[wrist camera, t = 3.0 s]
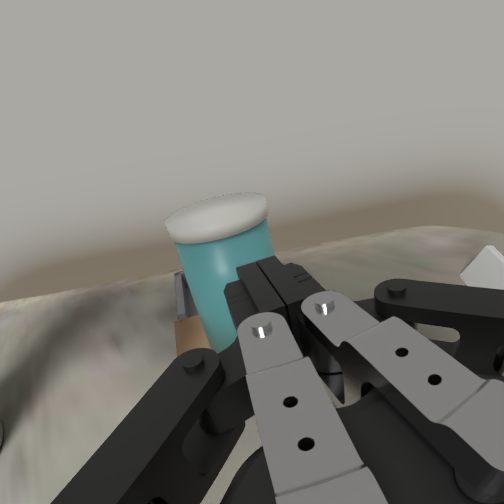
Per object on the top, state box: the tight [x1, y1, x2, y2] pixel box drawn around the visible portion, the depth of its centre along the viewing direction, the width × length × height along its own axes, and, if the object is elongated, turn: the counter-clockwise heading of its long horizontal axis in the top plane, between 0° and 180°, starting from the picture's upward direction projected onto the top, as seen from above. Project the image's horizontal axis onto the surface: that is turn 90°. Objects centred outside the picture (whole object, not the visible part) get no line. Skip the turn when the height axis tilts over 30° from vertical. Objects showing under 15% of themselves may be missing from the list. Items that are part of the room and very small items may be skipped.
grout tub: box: [165, 193, 274, 354], centre depth 23 cm, size 7×7×11 cm
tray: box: [174, 271, 199, 320], centre depth 36 cm, size 11×10×3 cm
